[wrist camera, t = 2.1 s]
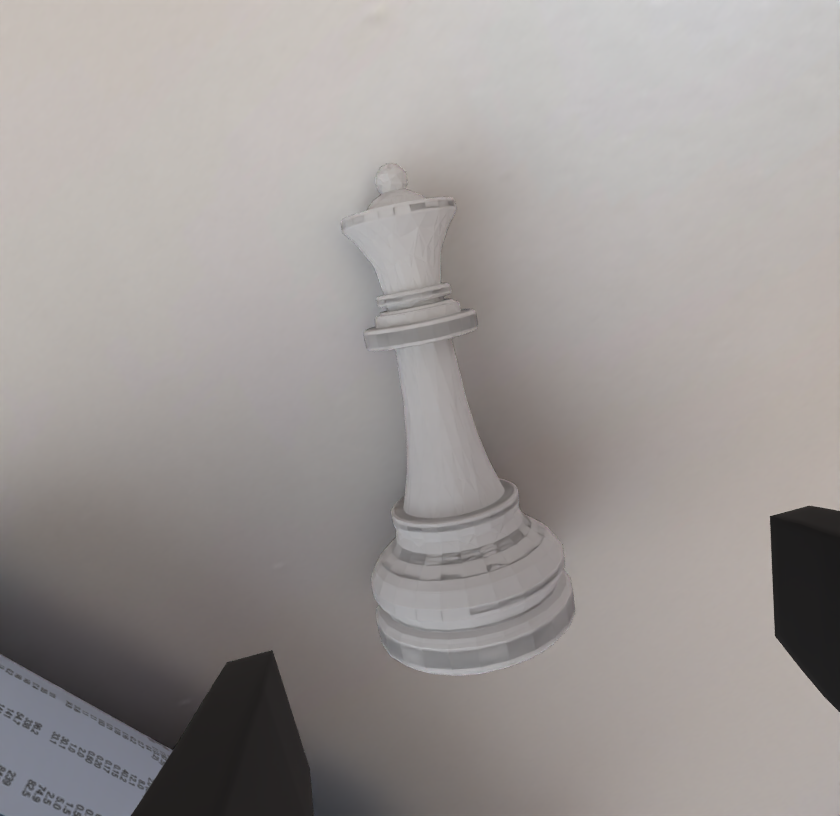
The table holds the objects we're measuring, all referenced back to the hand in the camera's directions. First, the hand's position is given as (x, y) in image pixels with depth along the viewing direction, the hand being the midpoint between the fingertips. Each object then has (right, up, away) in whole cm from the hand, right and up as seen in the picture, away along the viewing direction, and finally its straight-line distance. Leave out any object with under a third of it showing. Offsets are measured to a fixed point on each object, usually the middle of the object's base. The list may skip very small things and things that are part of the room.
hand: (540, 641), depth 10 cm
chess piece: (0, -2, +6) cm, 6 cm away
